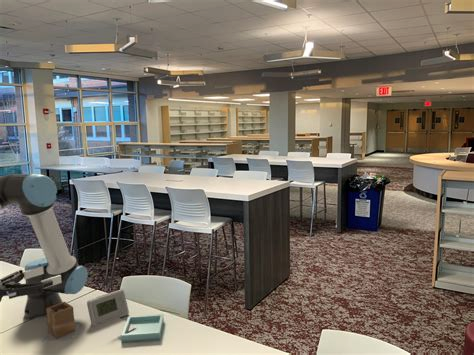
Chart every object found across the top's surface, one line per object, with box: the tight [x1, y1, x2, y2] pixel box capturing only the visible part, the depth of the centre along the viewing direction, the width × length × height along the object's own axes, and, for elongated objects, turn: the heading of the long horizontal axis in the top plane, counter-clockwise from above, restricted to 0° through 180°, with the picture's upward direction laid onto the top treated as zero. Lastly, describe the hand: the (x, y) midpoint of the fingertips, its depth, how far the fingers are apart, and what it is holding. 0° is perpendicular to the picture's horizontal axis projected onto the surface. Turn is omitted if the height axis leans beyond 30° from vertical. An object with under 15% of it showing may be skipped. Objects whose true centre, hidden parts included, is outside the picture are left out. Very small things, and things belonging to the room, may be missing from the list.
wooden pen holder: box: [46, 301, 76, 339], centre depth 145 cm, size 7×7×10 cm
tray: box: [120, 313, 165, 344], centre depth 147 cm, size 14×14×3 cm
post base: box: [41, 309, 82, 342], centre depth 145 cm, size 11×11×10 cm
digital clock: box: [86, 288, 130, 326], centre depth 157 cm, size 16×9×11 cm, turn 123°
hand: (51, 274), depth 136 cm, fingers open, 13 cm apart
